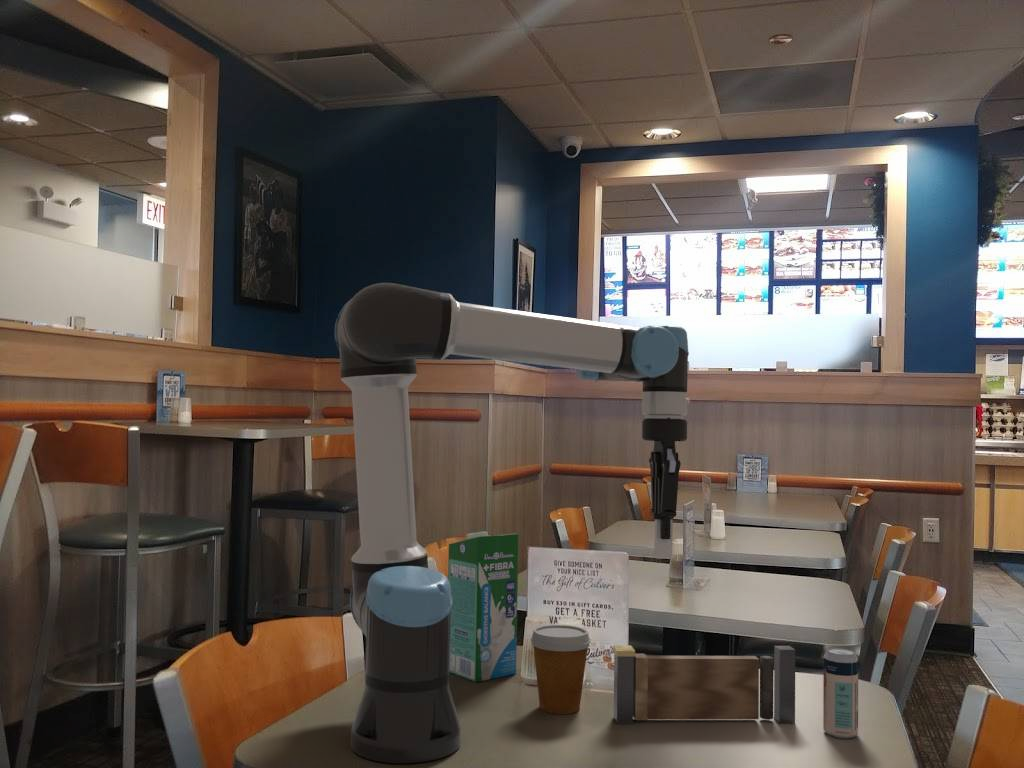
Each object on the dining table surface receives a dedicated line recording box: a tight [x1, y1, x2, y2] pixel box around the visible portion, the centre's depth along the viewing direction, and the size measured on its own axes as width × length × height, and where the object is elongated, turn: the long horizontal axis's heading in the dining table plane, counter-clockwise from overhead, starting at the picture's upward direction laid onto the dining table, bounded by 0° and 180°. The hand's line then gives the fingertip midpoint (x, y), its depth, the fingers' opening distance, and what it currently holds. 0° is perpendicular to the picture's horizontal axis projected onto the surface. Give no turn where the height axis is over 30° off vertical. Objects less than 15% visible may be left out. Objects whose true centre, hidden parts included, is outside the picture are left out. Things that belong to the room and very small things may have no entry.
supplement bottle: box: [822, 647, 859, 740], centre depth 132 cm, size 5×5×12 cm
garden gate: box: [633, 653, 774, 721], centre depth 137 cm, size 21×2×9 cm, turn 93°
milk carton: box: [447, 531, 519, 683], centre depth 162 cm, size 9×9×25 cm
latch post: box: [612, 644, 636, 725], centre depth 136 cm, size 3×3×11 cm
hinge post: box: [773, 645, 796, 724], centre depth 138 cm, size 2×2×11 cm
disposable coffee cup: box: [530, 624, 592, 715], centre depth 142 cm, size 10×10×12 cm
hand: (663, 557), depth 152 cm, fingers closed
